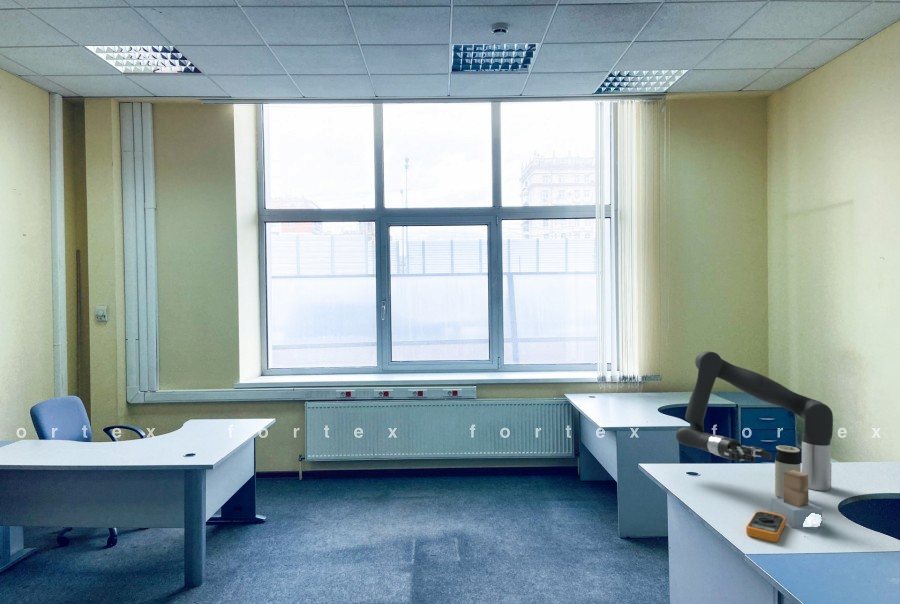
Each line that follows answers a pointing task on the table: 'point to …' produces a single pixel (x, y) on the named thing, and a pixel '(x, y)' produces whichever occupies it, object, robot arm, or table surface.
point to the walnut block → (796, 488)
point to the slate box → (794, 512)
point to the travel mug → (785, 466)
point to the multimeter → (766, 526)
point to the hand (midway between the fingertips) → (763, 458)
